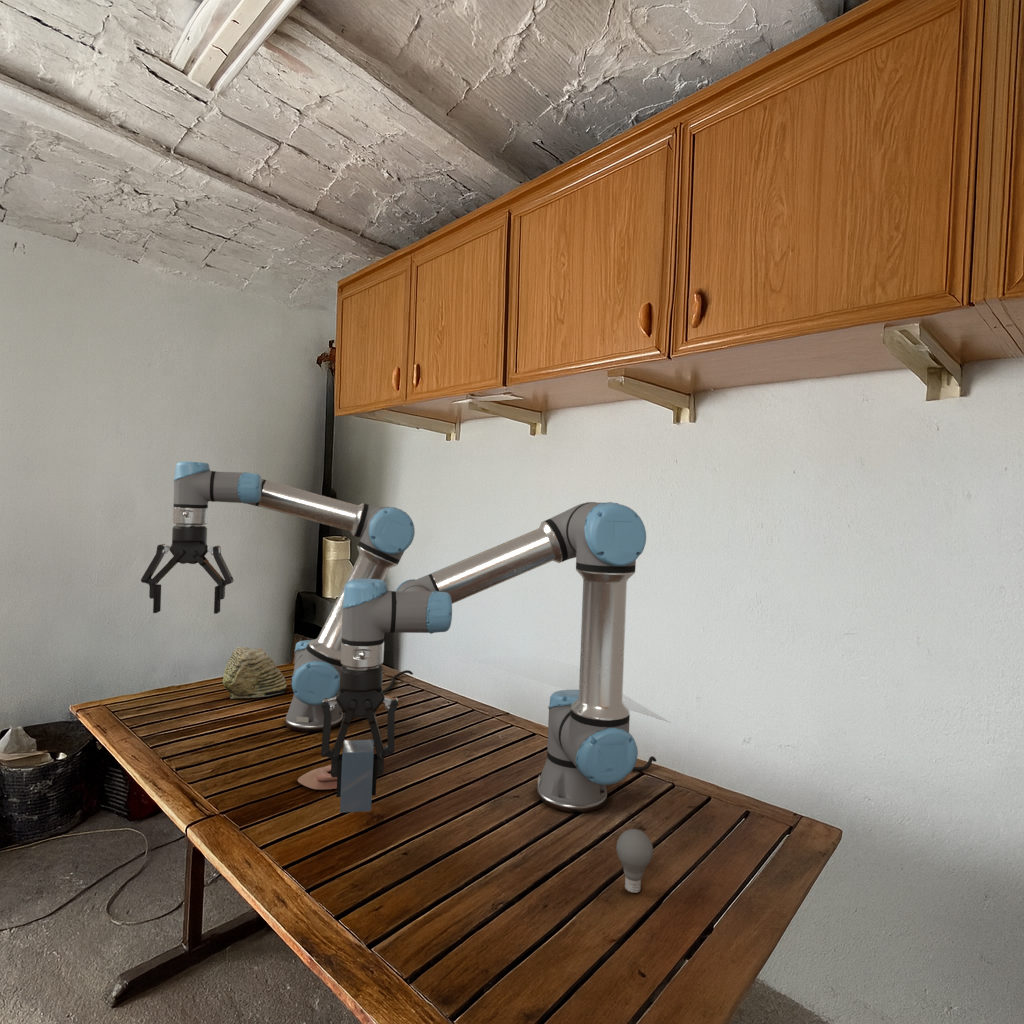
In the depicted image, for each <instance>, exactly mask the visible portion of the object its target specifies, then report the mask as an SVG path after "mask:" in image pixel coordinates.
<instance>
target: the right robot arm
mask: <svg viewBox="0 0 1024 1024" xmlns="http://www.w3.org/2000/svg"><path fill="white" fill-rule="evenodd" d="M646 543H647V531H646V527H645V524H644V522H643V520H642V518H641V516H640V515H638V513H637V512H636V511H635V510H634V509H633V508H631V507H629V506H628V505H624V504H620V503H618V502H612V501H608V502H596V501H589V502H583V503H579V504H577V505H575V506H573V507H571V508H568V509H566V510H565V511H563V512H561V513H558V514H556V515H554V516H552V517H550V518H548V519H546V520H543V521H542V522H541V523H540V525H539V527H538V528H536V529H534V530H531V531H529V532H527V533H524V534H522V535H520V536H519V535H518V536H517V537H514V538H512V539H510V540H507V541H505V542H503V543H500V544H498V545H495V546H493V547H491V548H489V549H485V550H483V551H482V552H479V553H476V554H475V555H472V556H469V557H467V558H465V559H461V560H459V561H458V562H455V563H453V564H450V565H447V566H445V567H443V568H440V569H438V570H436V571H433V572H431V573H429V574H426V575H424V576H422V577H419V578H417V579H415V578H413V579H407V580H405V581H403V582H401V583H400V584H399V585H398V587H397V588H396V590H388V586H387V585H388V584H387V582H386V581H385V580H379V579H353V580H350V581H348V582H347V584H346V585H345V584H344V585H345V588H344V599H343V615H342V642H341V664H342V665H343V666H342V667H341V668H340V688H339V691H338V693H337V696H336V697H333V698H330V699H328V698H324V699H323V701H322V705H321V707H322V710H323V713H324V723H323V731H322V738H321V750H320V755H321V757H323V758H329V759H330V761H331V763H330V765H331V776H332V777H337V788H336V794H335V795H336V798H340V797H341V774H342V754H341V751H342V749H343V745H344V740H345V739H346V737H347V733H348V730H349V728H350V724H351V722H352V719H359V718H361V719H367V722H368V725H369V729H370V733H371V736H372V740H373V741H374V750H375V753H374V758H373V780H372V797H373V796H377V780H378V779H377V778H378V776H382V775H384V765H385V757H386V756H389V755H393V754H394V753H395V724H396V723H395V722H396V721H395V715H396V711H397V708H398V706H399V699H398V697H397V696H395V695H394V696H392V697H391V696H388V695H385V693H384V692H383V690H384V689H383V681H384V680H383V679H384V678H383V677H384V667H383V666H382V665H383V664H384V655H385V634H386V633H389V634H392V633H397V634H399V633H400V634H401V633H402V634H403V633H404V634H405V633H407V634H408V633H410V634H431V635H432V634H436V633H446V632H448V631H449V630H450V628H451V626H452V621H453V604H455V603H458V602H460V601H462V600H465V599H467V598H469V597H471V596H474V595H477V594H479V593H482V592H483V591H486V590H488V589H491V588H493V587H495V586H498V585H500V584H502V583H505V582H506V581H510V580H511V579H514V578H516V577H519V576H521V575H523V574H526V573H528V572H530V571H532V570H535V569H537V568H540V567H541V566H544V565H546V564H549V563H551V562H555V563H557V564H561V563H563V562H566V561H568V560H571V559H575V571H576V572H577V573H578V574H579V576H580V577H581V578H582V600H581V601H582V602H581V627H580V628H581V629H580V655H579V660H580V661H579V681H578V683H579V684H578V689H561V690H557V691H554V692H552V693H551V695H550V696H549V703H548V707H547V709H548V719H547V721H548V724H547V748H546V760H545V763H544V765H543V768H542V771H541V773H540V774H539V775H538V777H537V785H536V796H537V798H538V800H539V801H540V802H541V803H543V804H544V805H546V806H547V807H549V808H552V809H554V810H558V811H562V812H567V813H575V814H578V813H579V814H581V813H590V812H594V811H597V810H599V809H601V808H603V807H604V806H605V805H606V803H607V801H608V789H607V786H611V785H616V784H618V783H620V782H621V781H624V779H625V777H627V776H628V775H630V773H631V772H632V771H633V772H642V771H646V770H648V769H649V768H650V766H651V765H652V763H653V762H657V759H656V757H655V756H652V755H651V756H649V758H648V761H647V762H646V764H645V765H642V766H636V764H637V761H638V754H639V751H638V745H637V743H636V741H635V738H634V736H633V735H632V734H631V733H630V721H631V719H630V718H631V711H630V708H629V707H628V706H627V705H626V703H624V702H623V695H624V694H623V693H624V692H623V691H624V671H625V670H624V667H625V644H626V641H625V640H626V619H627V618H626V616H627V614H626V613H627V593H628V592H627V591H628V589H627V588H628V581H629V579H631V578H632V577H633V576H634V575H635V574H636V566H637V559H638V558H639V557H640V556H641V555H642V554H643V552H644V550H645V547H646ZM337 703H338V704H339V706H340V707H341V708H342V712H343V721H342V723H341V724H340V727H339V730H338V733H337V736H336V739H335V742H334V745H333V748H332V747H330V744H331V743H330V742H331V731H332V729H331V718H332V711H333V710H334V709H335V704H337ZM383 703H384V708H385V710H387V729H386V730H387V735H386V736H387V737H386V739H387V742H386V745H384V743H383V741H382V737H381V732H380V729H379V728H380V727H379V723H378V720H377V714H376V711H378V710H379V708H380V707H381V705H382V704H383Z"/></svg>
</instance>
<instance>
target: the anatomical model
mask: <svg viewBox="0 0 1024 1024" xmlns="http://www.w3.org/2000/svg"><path fill="white" fill-rule="evenodd" d="M297 782H298V784H300V785H302V786H304V787H306V788H309V789H312V790H319V791H321V790H333V789H335V790H337V777H332V776H331V764H328V765H326V766H322V767H318V768H315V769H312V770H310V771H308V772H306V773H304V774H302V775H300V776H299V777H298V778H297Z"/></svg>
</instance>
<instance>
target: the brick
mask: <svg viewBox="0 0 1024 1024" xmlns="http://www.w3.org/2000/svg"><path fill="white" fill-rule="evenodd" d="M374 754H375V745H374V741H373V739H349V740H345V739H344V742H343V745H342V754H341V755H342V774H341V797H339V799H340V800H339V813H340V814H343V813H344V814H345V813H360V812H363V813H364V812H372V802H373V801H372V800H373V796H372V780H373V758H374Z"/></svg>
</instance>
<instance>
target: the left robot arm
mask: <svg viewBox="0 0 1024 1024" xmlns="http://www.w3.org/2000/svg"><path fill="white" fill-rule="evenodd" d="M209 502H211V503H215V502H216V503H237V504H246V505H250V506H254V507H258V508H263V509H265V510H269V511H274V512H277V513H280V514H284V515H288V516H292V517H295V518H300V519H303V520H307V521H310V522H314V523H318V524H322V525H325V526H329V527H333V528H337V529H340V530H345V531H348V532H350V534H351V535H352V536H353V537H356V538H359V539H360V540H359V542H358V544H357V545H356V547H357V551H358V553H359V554H358V556H357V559H356V561H355V563H354V565H353V567H352V569H351V571H350V572H349V574H348V577H347V579H346V581H345V582H344V585H343V587H342V589H341V591H340V593H339V595H338V597H337V599H336V601H335V602H334V605H333V606H332V608H331V610H330V613H329V615H328V616H327V619H326V621H325V623H324V624H323V626H322V628H321V630H320V632H319V634H318V636H317V638H315V639H306V640H305V639H304V640H300V641H298V642H296V643H295V648H294V650H293V651H294V667H293V671H292V672H293V673H292V676H291V681H290V683H291V689H292V691H293V695H292V696H293V697H292V699H291V702H290V704H289V708H288V711H287V713H286V715H285V726H286V728H287V729H289V730H291V731H294V732H295V731H296V732H301V733H316V732H323V723H324V713H323V710H322V707H321V705H322V701H323V699H324V698H328V699H330V698H333V697H336V696H337V693H338V692H339V688H340V668H341V667H342V666H343V665H342V664H341V642H342V615H343V599H344V588H345V585H346V584H347V582H348V581H350V580H353V579H379V580H383V581H385V579H386V576H387V574H388V572H389V571H390V569H392V568H394V567H397V566H398V565H399V564H400V561H401V559H402V557H403V555H404V553H405V551H407V549H408V548H409V547H410V546H411V545H412V544H413V541H414V539H415V538H414V537H415V533H416V531H415V530H416V529H415V525H414V521H413V519H412V518H411V516H410V515H409V514H408V513H407V512H406V511H404V510H403V509H401V508H397V507H395V506H379V505H372V504H368V503H365V502H362V503H360V504H355V503H351V502H347V501H343V500H341V499H337V498H333V497H330V496H326V495H323V494H318V493H315V492H312V491H308V490H304V489H301V488H297V487H295V486H290V485H287V484H282V483H279V482H276V481H272V480H268V479H264V478H262V476H261V475H260V473H253V472H248V471H247V472H241V471H240V472H239V471H216V470H211V469H210V465H209V463H208V462H202V461H200V462H199V461H178V462H177V463H176V464H175V468H174V478H173V508H172V523H173V524H174V525H173V526H172V530H171V531H172V534H171V545H167V544H164V543H161V544H157V546H156V551H155V555H154V557H153V558H152V560H151V561H150V563H149V565H148V567H147V569H146V570H145V572H144V573H143V575H142V577H141V578H140V582H141V583H142V584H146V585H148V586H149V593H148V595H149V596H148V597H149V599H151V600H152V601H153V603H152V614H158V613H159V612H161V606H162V604H161V603H162V584H159V582H160V581H161V580H163V578H164V577H165V576H166V575H167V574H169V572H170V571H171V570H172V569H173V568H174V567H175V566H176V565H177V564H180V565H185V564H190V565H196V564H198V565H199V566H201V567H202V569H203V570H204V571H205V572H206V573H207V574H208V576H210V577H211V579H212V580H213V582H214V583H216V584H217V585H216V586H214V595H213V596H214V597H213V600H214V601H213V614H214V615H217V614H219V613H220V612H221V600H225V597H226V586H228V585H230V584H232V583H234V581H235V579H234V577H233V575H232V573H231V572H230V569H229V566H228V565H227V563H226V561H225V559H224V557H223V555H222V548H221V546H220V545H215V546H208V541H207V540H208V527H207V526H206V525H207V524H208V520H209V519H208V515H209V511H208V510H209ZM168 552H170V554H172V557H171V558H170V559H169V561H168V562H167V563H166V564H165V565H164V566H163V567H162V568H161V569H160V570H159V571H158V572H156V571H157V569H158V567H159V565H160V564H161V562H162V560H163V558H164V556H165V555H166V554H168ZM208 553H210V555H211V556H213V558H214V561H215V563H216V565H217V567H218V569H219V571H220V573H221V574H222V576H221V574H220V573H219V572H218V571H217V570H216V569H215V567H214V566H213V565H212V564H211V563H210V561H209V560H208V558H207V557H206V555H207V554H208ZM155 572H156V574H155ZM154 574H155V575H154ZM153 575H154V576H153ZM405 674H409V675H411V676H413V675H414V672H412V670H409V669H408V670H402V671H400V672H398V673H397V674H395V675H393V676H392V677H391V679H390V680H391V682H390V683H389V685H388V687H386V688H384V689H382V690H383V692H384V694H385V693H387V692H389V690H391V689H392V687H393V686H394V684H395V679H397V678H398V677H400V676H402V675H405ZM343 718H344V711H343V710H342V708H341V707H340V706H339V704H338V703H337V704H335V709H334V710H333V711H332V718H331V730H332V729H335V728H337V727H339V726H341V724H342V721H343Z"/></svg>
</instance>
